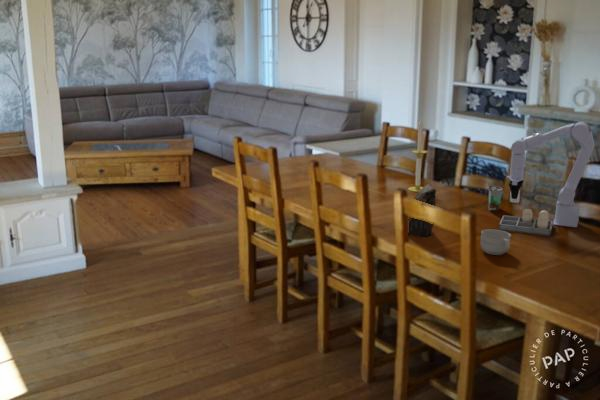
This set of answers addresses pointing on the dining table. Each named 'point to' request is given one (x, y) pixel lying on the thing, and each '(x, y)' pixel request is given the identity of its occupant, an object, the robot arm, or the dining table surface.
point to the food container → (494, 197)
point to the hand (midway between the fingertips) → (514, 197)
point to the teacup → (495, 241)
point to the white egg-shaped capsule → (515, 199)
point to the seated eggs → (542, 218)
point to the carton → (523, 226)
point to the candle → (418, 159)
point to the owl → (420, 226)
